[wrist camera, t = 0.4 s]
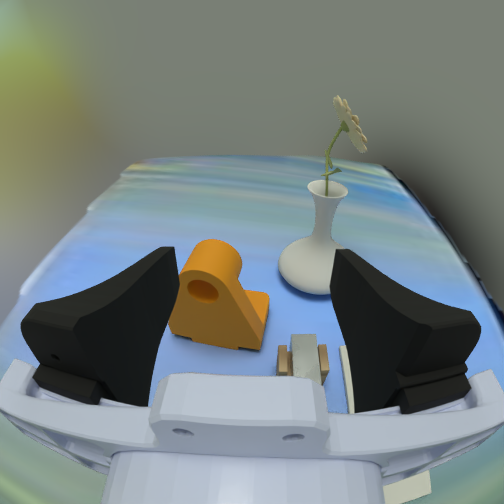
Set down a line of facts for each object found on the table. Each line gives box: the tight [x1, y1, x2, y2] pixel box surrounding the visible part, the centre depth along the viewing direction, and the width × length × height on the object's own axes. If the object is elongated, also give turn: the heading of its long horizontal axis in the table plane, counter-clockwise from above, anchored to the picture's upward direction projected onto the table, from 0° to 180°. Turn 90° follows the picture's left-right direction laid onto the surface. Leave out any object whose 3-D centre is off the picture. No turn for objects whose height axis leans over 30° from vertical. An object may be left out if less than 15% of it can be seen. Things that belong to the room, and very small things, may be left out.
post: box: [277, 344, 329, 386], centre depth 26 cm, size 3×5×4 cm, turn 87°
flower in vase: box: [278, 96, 367, 295], centre depth 34 cm, size 13×11×25 cm
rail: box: [289, 334, 322, 386], centre depth 20 cm, size 17×2×2 cm, turn 178°
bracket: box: [168, 239, 269, 350], centre depth 30 cm, size 11×7×12 cm, turn 79°
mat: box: [339, 346, 431, 504], centre depth 22 cm, size 20×8×1 cm, turn 178°
